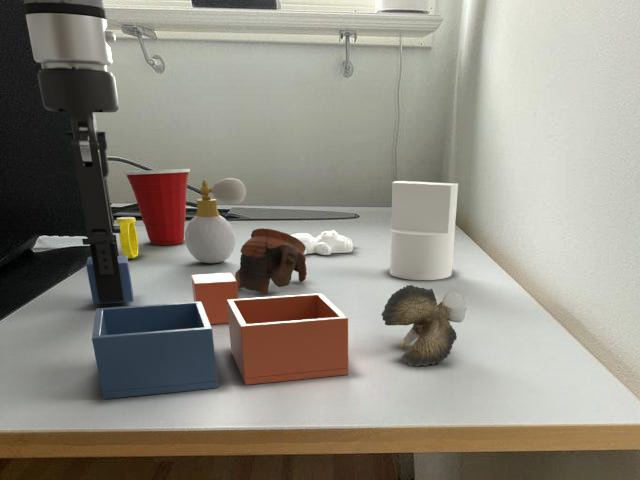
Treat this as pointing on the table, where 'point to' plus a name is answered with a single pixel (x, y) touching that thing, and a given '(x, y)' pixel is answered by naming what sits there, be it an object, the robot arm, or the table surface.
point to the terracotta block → (215, 294)
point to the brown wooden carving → (270, 260)
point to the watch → (128, 236)
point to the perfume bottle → (213, 222)
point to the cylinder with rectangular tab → (422, 229)
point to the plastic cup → (161, 203)
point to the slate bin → (154, 349)
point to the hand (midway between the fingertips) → (112, 295)
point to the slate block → (123, 274)
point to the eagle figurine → (425, 322)
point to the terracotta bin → (287, 338)
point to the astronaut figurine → (325, 243)
